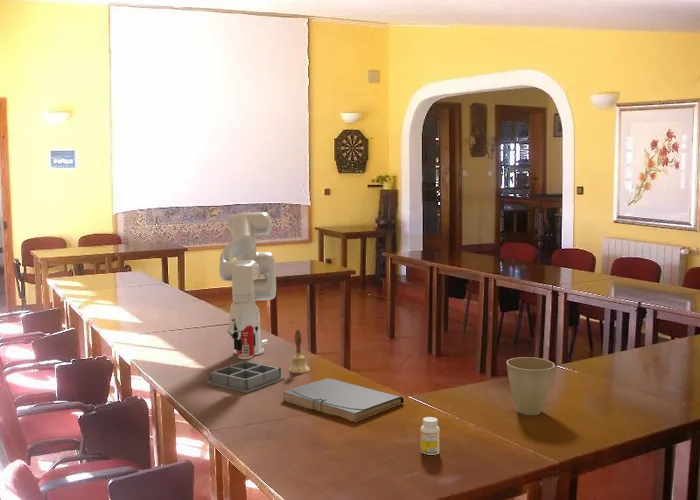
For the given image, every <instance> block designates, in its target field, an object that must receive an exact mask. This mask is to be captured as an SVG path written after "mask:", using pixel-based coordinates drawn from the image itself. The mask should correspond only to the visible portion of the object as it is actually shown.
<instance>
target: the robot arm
mask: <svg viewBox="0 0 700 500" xmlns="http://www.w3.org/2000/svg"><path fill="white" fill-rule="evenodd" d="M226 222H227V226H228V230H229V232H230V234H231V237H232V240H231V241H230V242H229V243H228V244H227V245H226V246H225V247H224V248H223V250H221V253H220V256H219V269H218V270H219V271H218V272H219V277H220V279H221V280H222V281H224V282H232V284H231V286H232V287H231V288H232V291H231V292H232V302H231V303H230V309H229V321H228V322H229V324H228V325H229V327H228V328H227V334H229V335H230V336H231V338H232V340H233V349H234V354H235V355H236V350H239V351H240V350H242V340H241V339H240V337H241V331H243V330H244V329H245V328H246V326H248V325H251V326H252V327H253V331H254V355H253V356H258V355H261V354H263V353H265V348H264V347H263V346H264V345H266V344H267V345H268V343H269V341H268V339H261V318H260V317H261V314H260V313H261V312H260V309H259V307H258V305H256V301H271V300H273V299H275V298H276V294H277V278H276V277H277V275H276V273H277V272H276V271H277V270H276V259H275V256H274V255H273V253H272V252H270V251H258V250H257V239H256V236H258V235H259V236H260V235H263V236H264V235H269V234H270V233H271V231H272V225H273V224H272V218H271V216H270V214H269V213H268V212H266V211H265V212H261V211H258V212H257V211H255V212H252V211H251V212H248V211H247V212H239V213H236V214H232V215H229V216H228V218H227V221H226ZM233 259H234V260H233ZM259 276H264V277H259ZM237 332H238V335H237Z"/></svg>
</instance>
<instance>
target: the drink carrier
mask: <svg viewBox="0 0 700 500" xmlns="http://www.w3.org/2000/svg"><path fill="white" fill-rule="evenodd" d="M281 371H282V368H281V367H277V366H272V365H267V364H262V363H257V362H253V361H249V360H248V361H247V360H243V361H240V362H236V363H234V364H231V365H228V366H223V367H222V368H221V367H220V368H217V369H215V370H212V371H210V372H209V380H208V381H206V384H207V385H212V386H215V387H220V388H223V389H229V390H231V391H237V392H241V393H245V394H248V393H252V392H254V391H256V390H258V389H261V388H264V387H268V386H271V385H272V384H275V383H278V382H281V381H284V380H285V377H284V376H282V372H281Z"/></svg>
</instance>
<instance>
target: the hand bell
mask: <svg viewBox="0 0 700 500" xmlns="http://www.w3.org/2000/svg"><path fill="white" fill-rule="evenodd" d="M294 343H295V345H296V350H295V351H296V354H295V355H294V356H293V357H292V363H291V366H290V367H289V368H288V370H287V371H288V372H289V373H291V374H304V373H305V374H306V373H308V372H310V370H311V369H310V367H308V364H307V362H306V357H305V355H303V354H302V353H301V344H302V334H301V330H300V329H296V330H295V334H294Z"/></svg>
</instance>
